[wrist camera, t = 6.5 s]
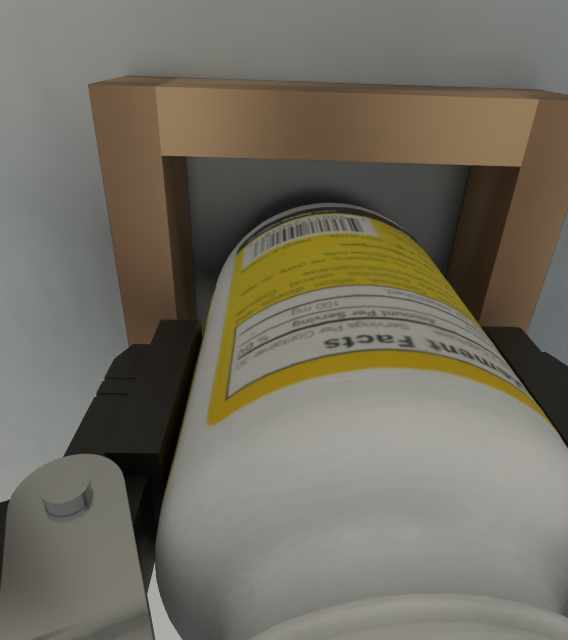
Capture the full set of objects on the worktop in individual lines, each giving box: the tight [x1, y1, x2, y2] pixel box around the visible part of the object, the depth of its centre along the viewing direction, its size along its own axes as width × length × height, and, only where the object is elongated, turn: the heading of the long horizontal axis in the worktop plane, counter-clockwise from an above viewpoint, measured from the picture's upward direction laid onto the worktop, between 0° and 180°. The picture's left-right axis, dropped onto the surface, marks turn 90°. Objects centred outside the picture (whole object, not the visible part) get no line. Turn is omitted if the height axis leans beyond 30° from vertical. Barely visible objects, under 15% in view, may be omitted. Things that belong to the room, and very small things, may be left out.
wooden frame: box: [88, 76, 568, 347], centre depth 12 cm, size 9×9×2 cm
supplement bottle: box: [155, 203, 568, 640], centre depth 8 cm, size 5×5×10 cm
